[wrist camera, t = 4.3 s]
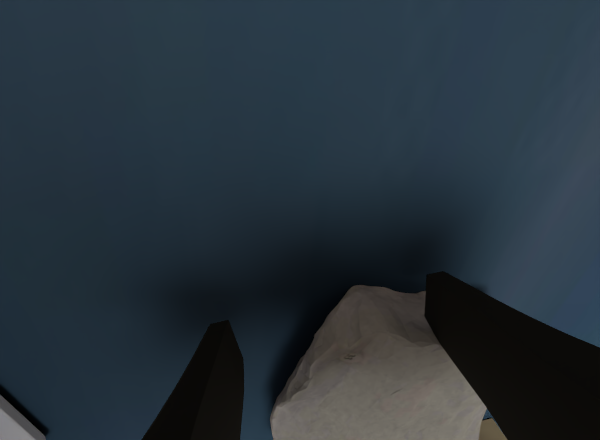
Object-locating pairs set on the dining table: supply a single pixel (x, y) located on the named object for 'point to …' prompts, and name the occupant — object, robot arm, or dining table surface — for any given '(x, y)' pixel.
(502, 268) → the dining table surface
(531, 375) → the robot arm
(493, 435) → the bench stop
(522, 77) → the dining table surface
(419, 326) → the stone block
